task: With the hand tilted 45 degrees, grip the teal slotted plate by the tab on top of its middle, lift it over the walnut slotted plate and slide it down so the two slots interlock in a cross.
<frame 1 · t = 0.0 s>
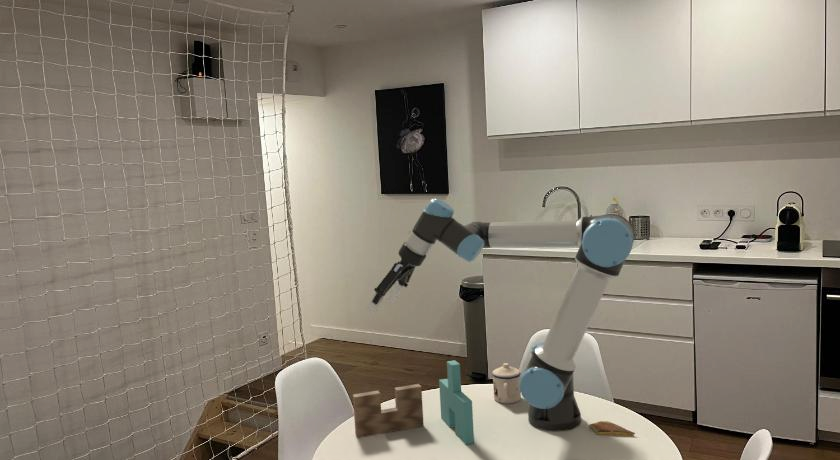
hand: (379, 306, 185), 36 cm above the table, tool tilted 35°, fingers open, 13 cm apart
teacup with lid: (507, 401, 201), on the table
pie slice: (611, 432, 176), on the table
walnut slotted plate: (389, 430, 184), on the table
teal slotted plate: (456, 430, 181), on the table
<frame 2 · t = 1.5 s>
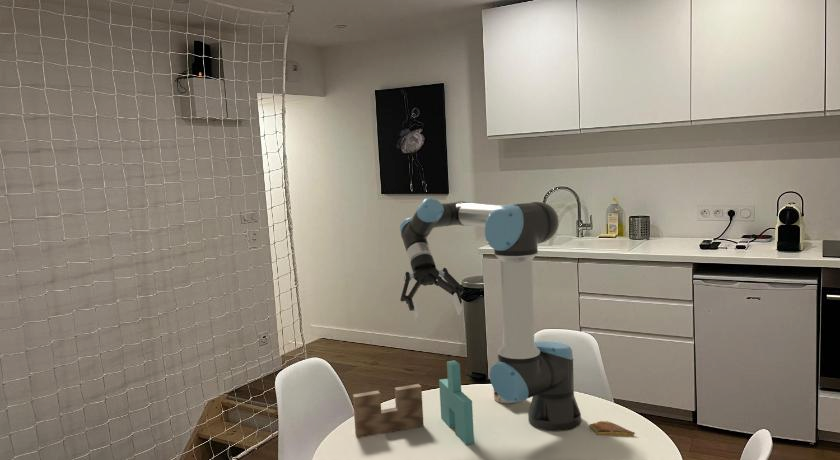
hand: (439, 315, 188), 31 cm above the table, tool tilted 45°, fingers open, 13 cm apart
nothing on the table moved.
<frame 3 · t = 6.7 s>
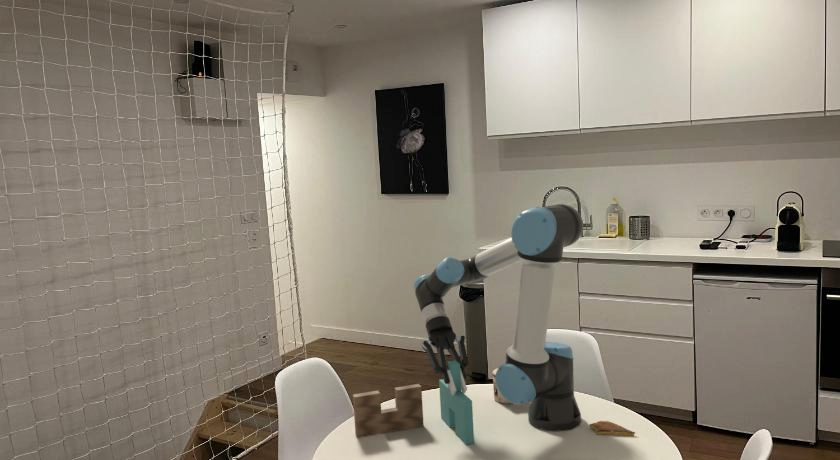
hand: (459, 392, 176), 13 cm above the table, tool tilted 45°, fingers closed on teal slotted plate, 2 cm apart
teal slotted plate: (456, 429, 181), on the table, touching gripper
everything else where it was.
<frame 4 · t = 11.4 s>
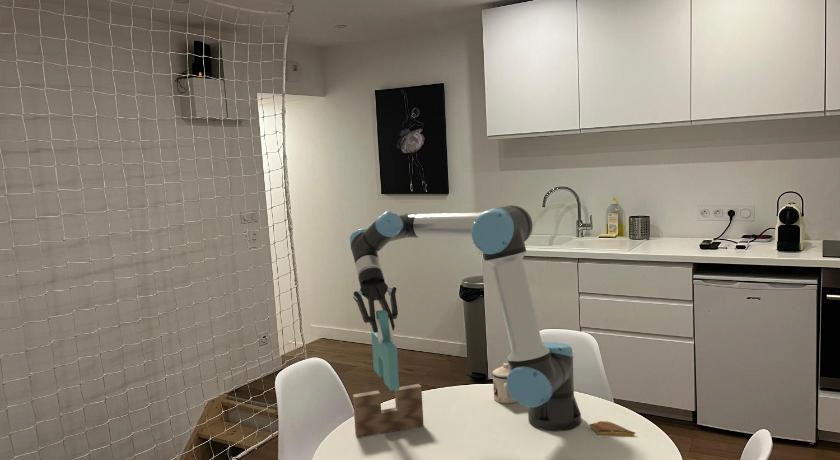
hand: (386, 340, 177), 28 cm above the table, tool tilted 45°, fingers closed on teal slotted plate, 2 cm apart
teal slotted plate: (385, 379, 182), point 15 cm above the table, touching gripper
everything else where it was.
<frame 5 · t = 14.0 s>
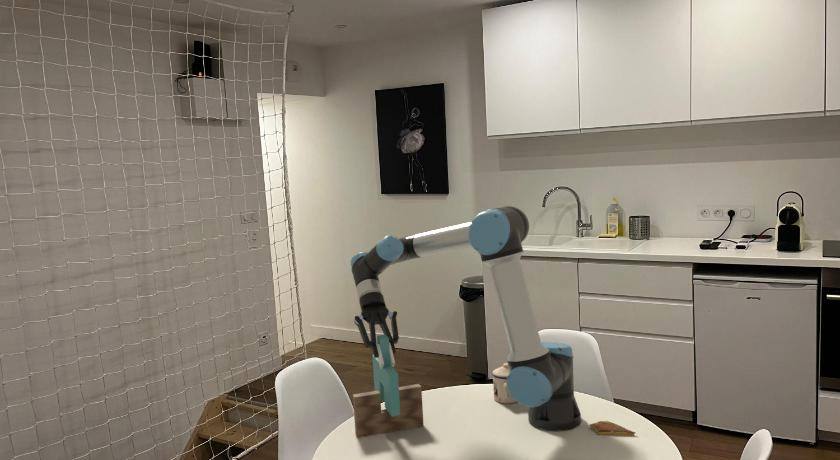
hand: (387, 365, 178), 21 cm above the table, tool tilted 45°, fingers closed on teal slotted plate, 2 cm apart
teal slotted plate: (386, 403, 183), point 8 cm above the table, touching gripper
everything else where it was.
when the fingers open (14 cm above the table, at t = 16.2 s): teal slotted plate stays where it is, on the table.
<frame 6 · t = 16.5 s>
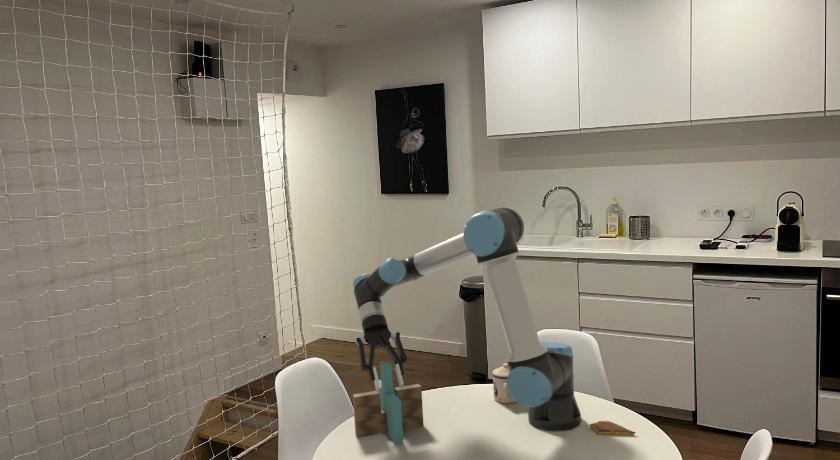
hand: (390, 388, 179), 14 cm above the table, tool tilted 45°, fingers open, 6 cm apart
teal slotted plate: (389, 430, 184), on the table
everything else where it was.
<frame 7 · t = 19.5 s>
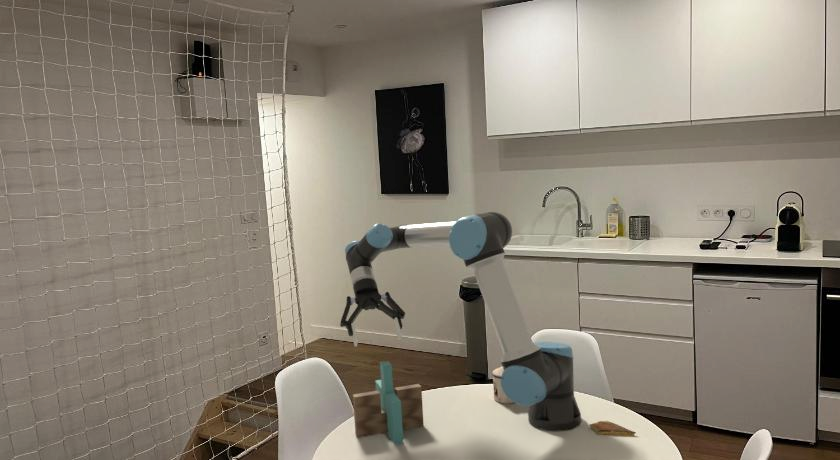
hand: (378, 341, 188), 25 cm above the table, tool tilted 45°, fingers open, 13 cm apart
nothing on the table moved.
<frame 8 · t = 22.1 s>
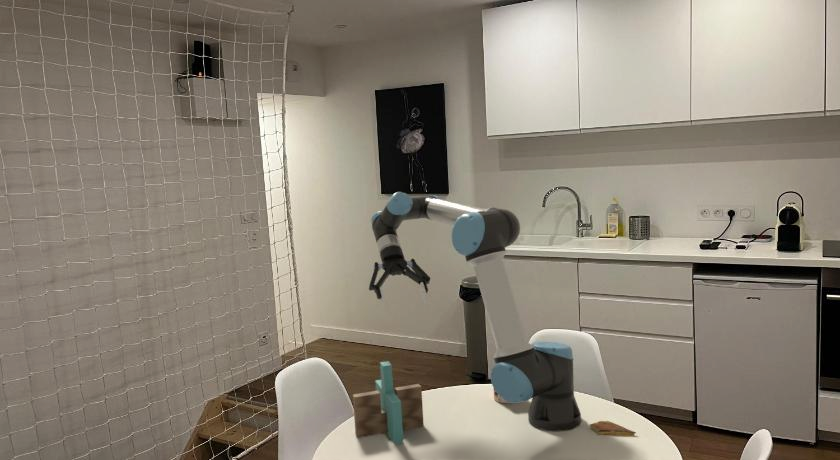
hand: (405, 303, 197), 34 cm above the table, tool tilted 45°, fingers open, 13 cm apart
nothing on the table moved.
at the end: teal slotted plate 0.0 cm off-centre on the walnut slotted plate, point 0.0 cm above the walnut slotted plate's base; teal slotted plate tilted 0°; the gripper is holding nothing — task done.
